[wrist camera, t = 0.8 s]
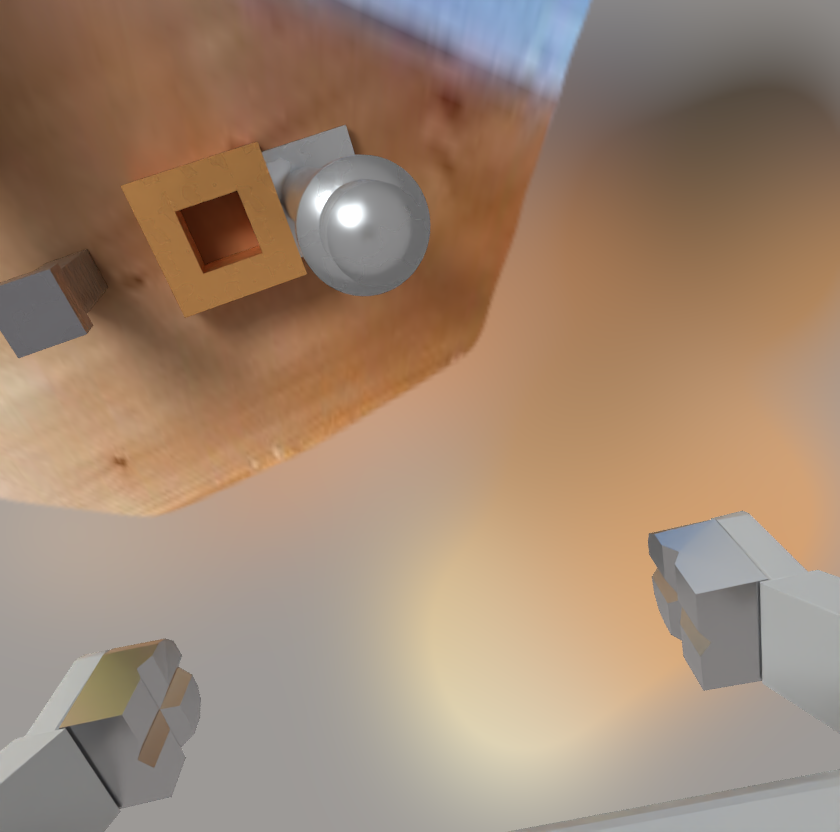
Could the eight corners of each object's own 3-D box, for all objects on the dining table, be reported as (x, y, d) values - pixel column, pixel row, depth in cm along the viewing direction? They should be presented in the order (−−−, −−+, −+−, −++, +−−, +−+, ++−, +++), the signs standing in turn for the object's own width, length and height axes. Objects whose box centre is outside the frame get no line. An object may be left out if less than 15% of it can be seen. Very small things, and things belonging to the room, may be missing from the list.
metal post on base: (187, 305, 48) (160, 428, 27) (128, 182, 44) (41, 215, 23) (378, 237, 50) (490, 302, 29) (340, 114, 46) (439, 86, 25)
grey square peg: (65, 309, 46) (18, 358, 35) (35, 258, 44) (-24, 293, 33) (117, 291, 46) (86, 334, 36) (90, 240, 44) (49, 269, 34)
